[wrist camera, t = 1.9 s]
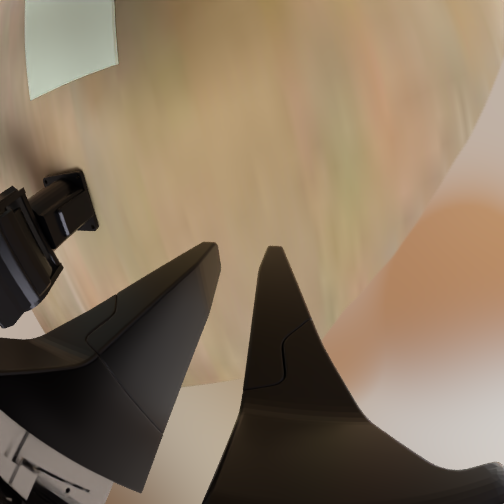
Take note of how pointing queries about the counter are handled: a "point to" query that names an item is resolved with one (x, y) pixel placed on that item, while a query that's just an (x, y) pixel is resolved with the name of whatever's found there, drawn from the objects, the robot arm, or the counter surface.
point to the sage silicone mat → (67, 41)
